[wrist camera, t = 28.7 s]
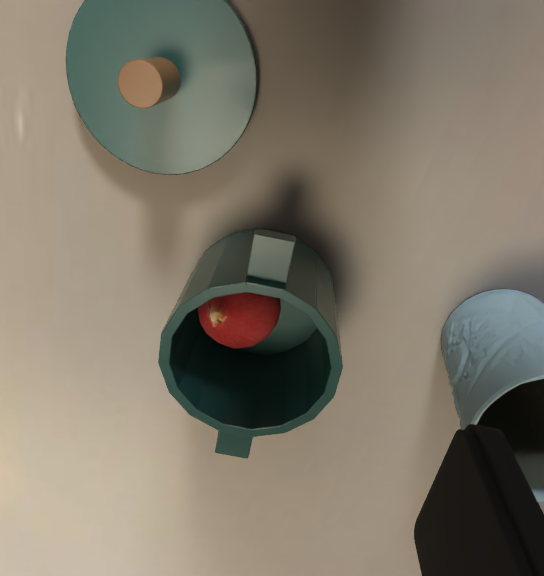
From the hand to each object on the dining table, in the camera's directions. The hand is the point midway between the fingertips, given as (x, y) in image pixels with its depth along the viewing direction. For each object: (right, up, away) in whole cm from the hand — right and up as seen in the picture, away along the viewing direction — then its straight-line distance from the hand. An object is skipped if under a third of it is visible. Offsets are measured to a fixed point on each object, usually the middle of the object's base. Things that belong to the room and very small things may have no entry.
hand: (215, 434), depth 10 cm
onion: (0, +2, +30) cm, 30 cm away
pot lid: (-6, +17, +23) cm, 29 cm away
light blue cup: (+19, -1, +31) cm, 36 cm away
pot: (0, +2, +30) cm, 31 cm away
